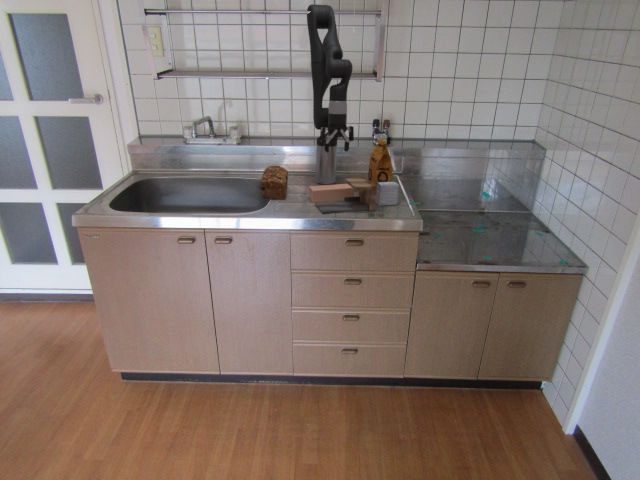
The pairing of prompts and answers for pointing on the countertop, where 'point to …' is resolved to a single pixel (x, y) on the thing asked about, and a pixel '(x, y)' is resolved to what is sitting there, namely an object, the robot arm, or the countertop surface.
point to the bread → (274, 182)
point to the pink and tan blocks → (353, 198)
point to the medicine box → (387, 193)
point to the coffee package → (380, 164)
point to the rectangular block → (330, 192)
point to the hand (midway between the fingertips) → (336, 151)
